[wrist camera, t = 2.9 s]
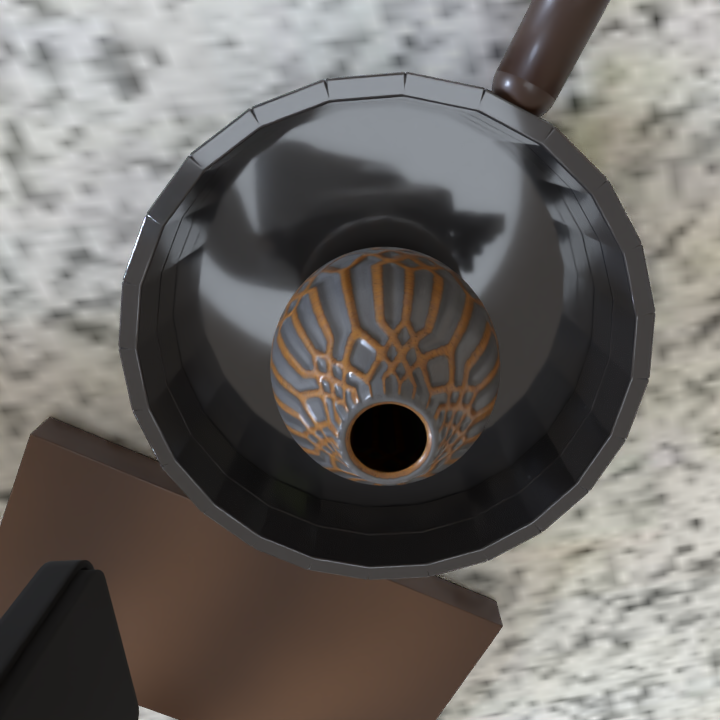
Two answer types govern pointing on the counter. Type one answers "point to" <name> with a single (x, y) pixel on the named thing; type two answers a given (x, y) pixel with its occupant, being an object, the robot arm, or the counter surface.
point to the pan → (402, 230)
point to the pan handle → (545, 51)
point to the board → (232, 599)
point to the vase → (385, 366)
